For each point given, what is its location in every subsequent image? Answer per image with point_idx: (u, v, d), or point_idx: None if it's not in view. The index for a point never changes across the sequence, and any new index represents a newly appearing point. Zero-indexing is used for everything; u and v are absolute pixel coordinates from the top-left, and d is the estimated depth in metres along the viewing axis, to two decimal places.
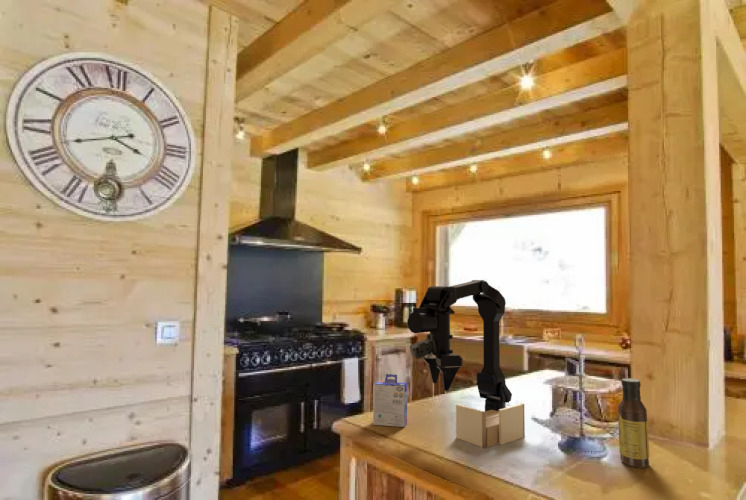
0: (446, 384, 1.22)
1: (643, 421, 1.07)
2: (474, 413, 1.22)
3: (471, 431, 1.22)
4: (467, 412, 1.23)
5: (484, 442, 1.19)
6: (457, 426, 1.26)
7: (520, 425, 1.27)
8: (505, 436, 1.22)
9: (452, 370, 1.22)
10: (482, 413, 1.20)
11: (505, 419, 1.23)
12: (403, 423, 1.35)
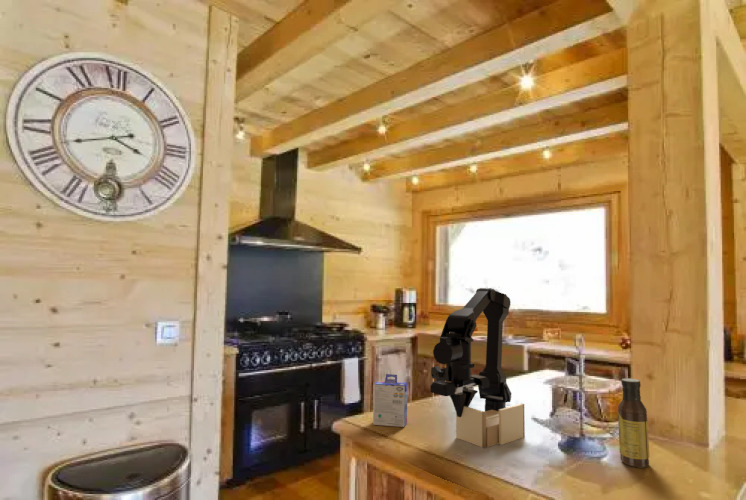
0: (457, 409, 1.25)
1: (643, 421, 1.07)
2: (474, 413, 1.22)
3: (471, 431, 1.22)
4: (467, 412, 1.23)
5: (484, 442, 1.19)
6: (457, 426, 1.26)
7: (520, 425, 1.27)
8: (505, 436, 1.22)
9: (458, 397, 1.24)
10: (482, 413, 1.20)
11: (505, 419, 1.23)
12: (403, 423, 1.35)
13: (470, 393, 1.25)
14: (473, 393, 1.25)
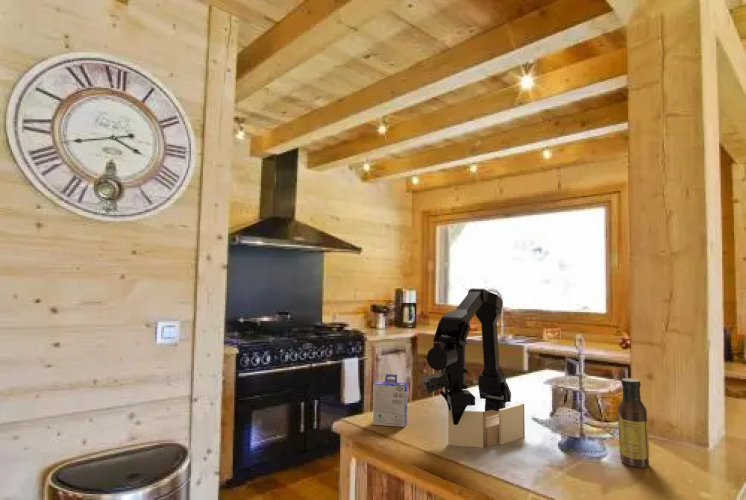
0: (455, 418, 1.18)
1: (643, 421, 1.07)
2: (473, 415, 1.20)
3: (469, 434, 1.20)
4: (464, 415, 1.20)
5: (485, 442, 1.19)
6: (450, 432, 1.21)
7: (520, 425, 1.27)
8: (505, 436, 1.22)
9: None
10: (483, 413, 1.19)
11: (505, 419, 1.23)
12: (403, 423, 1.35)
13: None
14: None
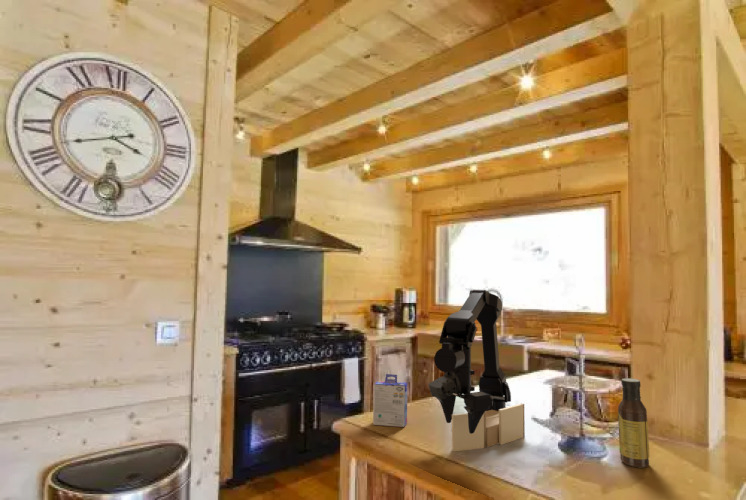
0: (472, 426, 1.11)
1: (643, 421, 1.07)
2: None
3: (471, 437, 1.18)
4: (467, 418, 1.18)
5: (485, 442, 1.19)
6: (454, 438, 1.16)
7: (520, 425, 1.27)
8: (505, 436, 1.22)
9: (479, 410, 1.11)
10: (484, 413, 1.19)
11: (505, 419, 1.23)
12: (403, 423, 1.35)
13: (455, 395, 1.22)
14: None
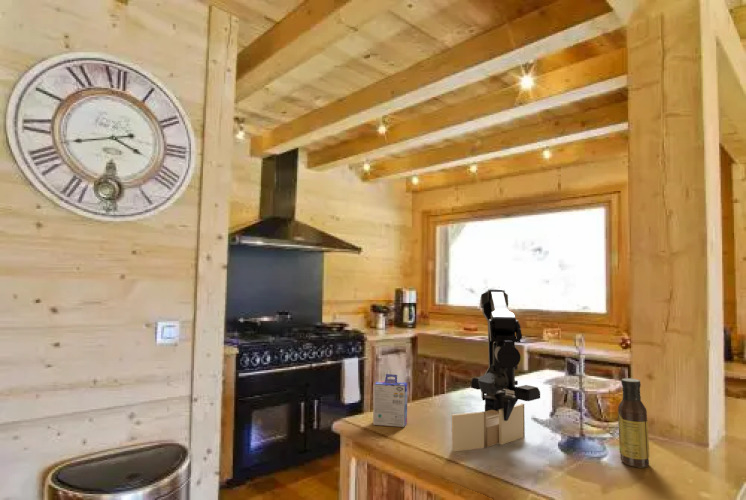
0: (507, 414, 1.22)
1: (643, 421, 1.07)
2: (475, 416, 1.18)
3: (471, 437, 1.18)
4: (467, 418, 1.18)
5: (485, 442, 1.19)
6: (454, 438, 1.16)
7: (520, 425, 1.27)
8: (505, 436, 1.22)
9: (513, 399, 1.22)
10: (484, 413, 1.19)
11: None
12: (403, 423, 1.35)
13: (506, 393, 1.26)
14: None
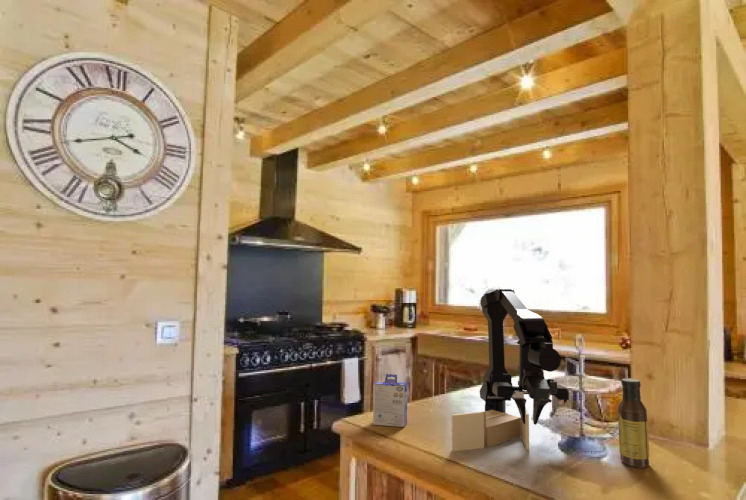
0: None
1: (643, 421, 1.07)
2: (475, 416, 1.18)
3: (471, 437, 1.18)
4: (467, 418, 1.18)
5: (485, 442, 1.19)
6: (454, 438, 1.16)
7: None
8: None
9: None
10: (484, 413, 1.19)
11: None
12: (403, 423, 1.35)
13: None
14: None
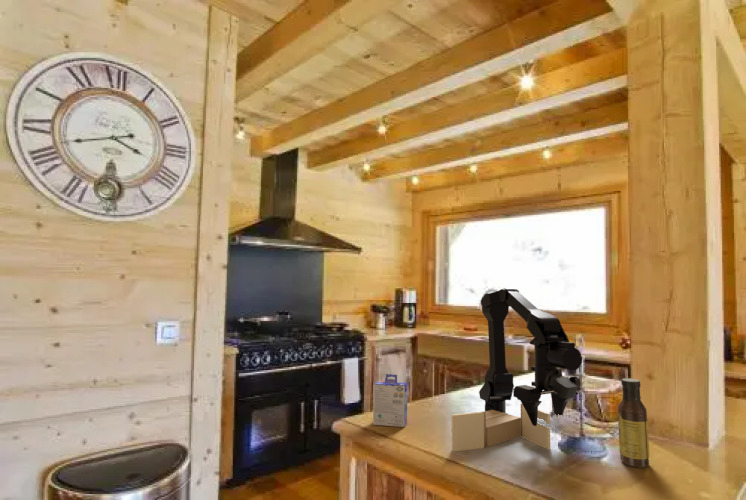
0: None
1: (643, 421, 1.07)
2: (475, 416, 1.18)
3: (471, 437, 1.18)
4: (467, 418, 1.18)
5: (485, 442, 1.19)
6: (454, 438, 1.16)
7: None
8: None
9: None
10: (484, 413, 1.19)
11: None
12: (403, 423, 1.35)
13: None
14: None
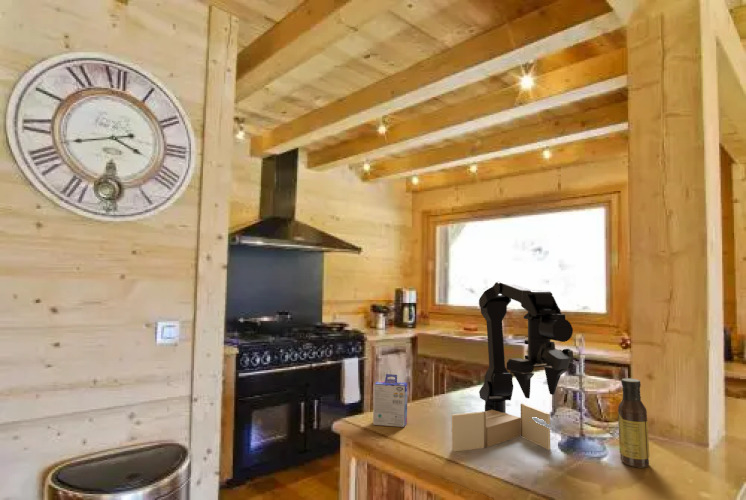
0: None
1: (643, 421, 1.07)
2: (475, 416, 1.18)
3: (471, 437, 1.18)
4: (467, 418, 1.18)
5: (485, 442, 1.19)
6: (454, 438, 1.16)
7: None
8: None
9: None
10: (484, 413, 1.19)
11: None
12: (403, 423, 1.35)
13: None
14: None
